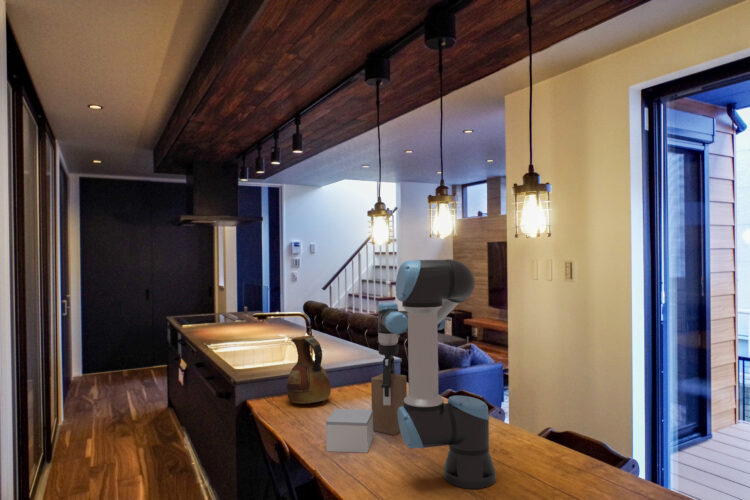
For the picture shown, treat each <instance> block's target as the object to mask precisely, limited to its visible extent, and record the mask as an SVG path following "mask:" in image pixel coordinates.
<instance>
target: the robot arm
mask: <svg viewBox="0 0 750 500" xmlns="http://www.w3.org/2000/svg"><path fill="white" fill-rule="evenodd" d="M475 287H476V280H475V276H474V273H473V272H472V270H471V269H470V267H468V265H466V264H465V263H463V262H462V261H459V260H456V259H452V258H451V259H414V260H413V259H412V260H406V261H403V262H402V263H401V264H400V266H399V268H398V270H397V275H396V280H395V296H396V299H397V301H400V302H402V303H401V305H402V308H403V309H404V310H399V306H398V303H397V302H391V301H390V302H388V301H386V302H380V303H379V304H378V305H377V308H378V309H377V321H378V325H377V326H378V327H377V328H378V329H377V330H378V331H377V332H378V333H377V335H378V336H377V337H378V338H377V340H378V341H377V343H379V344H378V354H379V355H382V356H384V358H383V360H382V365H383V366H382V374H383V385H381V388H383V405H391V387H390V379H391V374H396V371H395V358H394V357H395V356H396V355H398V354H399V344H398V342H399V338H400V337H401V336H400V334H403V333H405V332H406V333H407V344H408V345H407V346H408V347H407V351H408V352H407V354H408V355H407V356H408V357H407V360H408V362H407V364H408V394H407V396H406V397H405V398H404V407H403V406H401V407H399V408H398V423H399V428H400V432H399V433H400V435H401V438H402V441H403V442H404V445H405V446H406V447H407V448H409V449H421V450H422V449H424V448H425V449H426V448H434V447H435V448H436V447H445V446H448V447H449V448H448V449H449V450H448V454H447V456H446V459H445V463H444V466H443V478H444V479H445V481H446V482H447V483H449V484H450V485H453V486H456V487H458V488H463V489H470V490H471V489H472V490H473V489H475V490H476V489H477V490H478V489H484V488H488V487H490V486H492V485H494V483H496V480H497V479H496V478H497V476H496V469H495V466H494V463H493V460H492V457H491V454H490V425H489V424H490V417H489V407H488V405H487V403H486V402H485V401H483V400H481V399H478V398H476V397H472V396H468V395H452V396H449V397H448V400H447V402H446V403H445V402H444V401H445V400H444V398H443V397H442V396H441V395H440V394H439V351H438V350H439V346H438V343H439V342H438V341H439V339H438V338H439V337H438V331H441V330H443V329H444V328H445V327H446V322H447V320H446V319H447V316H448V315H449V314H450V313H451V312H452V311H453V310H454V309H455V308H456V307H457V306H458V305H459V304H461V303H462V304H463V303H465V302H466V301H468V299H469V298H470V297H471V296H472V295H473V293H474V290H475ZM386 383H388V384H386Z"/></svg>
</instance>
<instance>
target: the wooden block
mask: <svg viewBox="0 0 750 500" xmlns="http://www.w3.org/2000/svg"><path fill="white" fill-rule="evenodd" d="M370 380H371V382H370V383H371V388H370V389H371V410H373V432H376V433H381V434H385V435H391V436H396V435H397V434H399V433H401V432H400V428H399V423H398V408H399V407H401V406H403V407H404V398H405V397H406V396H407V395H408V394H407V393H408V392H407V389H408V388H407V385H408V384H407V375H405V374H398V373H395V374H391V379H390V387H391V405H383V388H381V385H383V373H380V374H378V375H376V376H374V377H371V378H370ZM386 384H388V383H386Z"/></svg>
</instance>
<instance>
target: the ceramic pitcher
mask: <svg viewBox="0 0 750 500" xmlns="http://www.w3.org/2000/svg"><path fill="white" fill-rule="evenodd" d="M291 342H293V344H294V346H295V347H296V352H297V361H296V364H295V365H294V366H293V367H292V368H291V370H290V372H289V375H288V378H287V382H286V383H287V384H286V396H287V399H288V401H290V402H291V403H295V404H312V403H319V402H325V401H326V400H328V398H330V396H331V394H332V393H331V392H332V386H331V380H330V378H329V375H328V373H327V371H326V370H325V369H324V367H322V366H321V365H322V360H323V350H322V347H321V344H320V342H319V341H318V340H317V339H316V338H315V336H314V335H304V336H303V335H302V336H295V337H293V338H291ZM311 348H312V351H313V355H314V360H313V357H312V354H311Z"/></svg>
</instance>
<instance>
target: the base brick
mask: <svg viewBox="0 0 750 500" xmlns="http://www.w3.org/2000/svg"><path fill="white" fill-rule="evenodd" d="M325 424H326V425H325V428H326V429H325V431H326V432H325V433H326V435H325V436H326V440H325V442H326V443H325V445H326V452H339V453H342V452H343V453H360V454H361V453H362V454H363V453H365V454H368V452H369V450H370V448H371V444H372V442H373V439H374V431H373V410H372V409H355V408H353V409H351V408H334V410H333V411H332V413H331V414H330V415H329V417H328V418H327V420H326V421H325Z"/></svg>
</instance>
